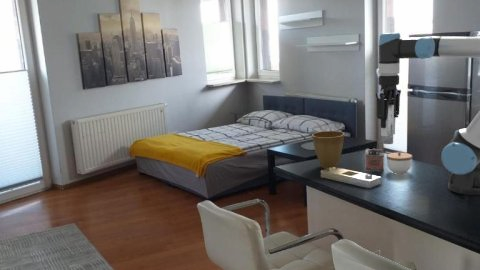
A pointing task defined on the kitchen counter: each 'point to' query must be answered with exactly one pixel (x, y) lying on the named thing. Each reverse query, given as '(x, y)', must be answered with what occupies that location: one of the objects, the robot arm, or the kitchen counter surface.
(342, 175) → the frame
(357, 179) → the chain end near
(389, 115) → the pin
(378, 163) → the lighter
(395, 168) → the lidded jar
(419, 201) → the kitchen counter surface
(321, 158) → the plant pot
